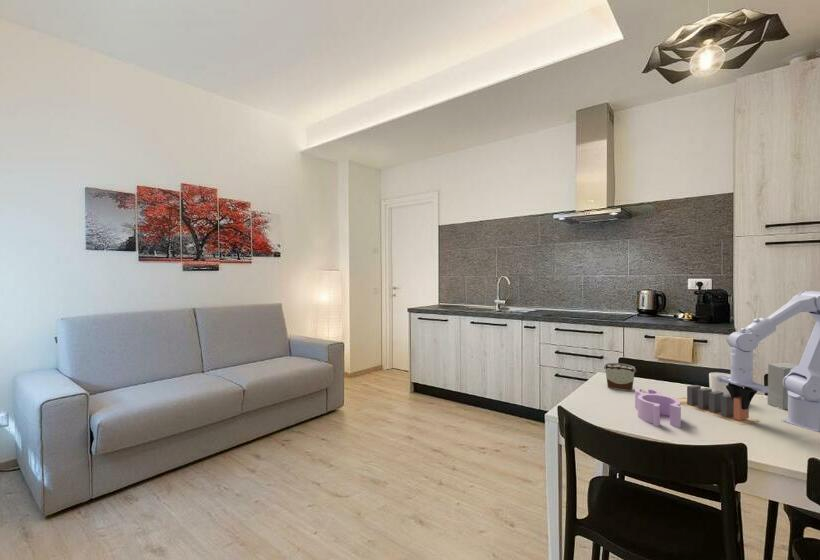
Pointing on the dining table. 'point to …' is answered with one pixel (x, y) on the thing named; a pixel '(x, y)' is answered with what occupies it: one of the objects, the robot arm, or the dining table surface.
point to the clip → (657, 407)
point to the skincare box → (778, 384)
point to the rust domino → (740, 410)
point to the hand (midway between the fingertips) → (741, 407)
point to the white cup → (718, 383)
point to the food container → (620, 375)
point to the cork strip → (742, 422)
